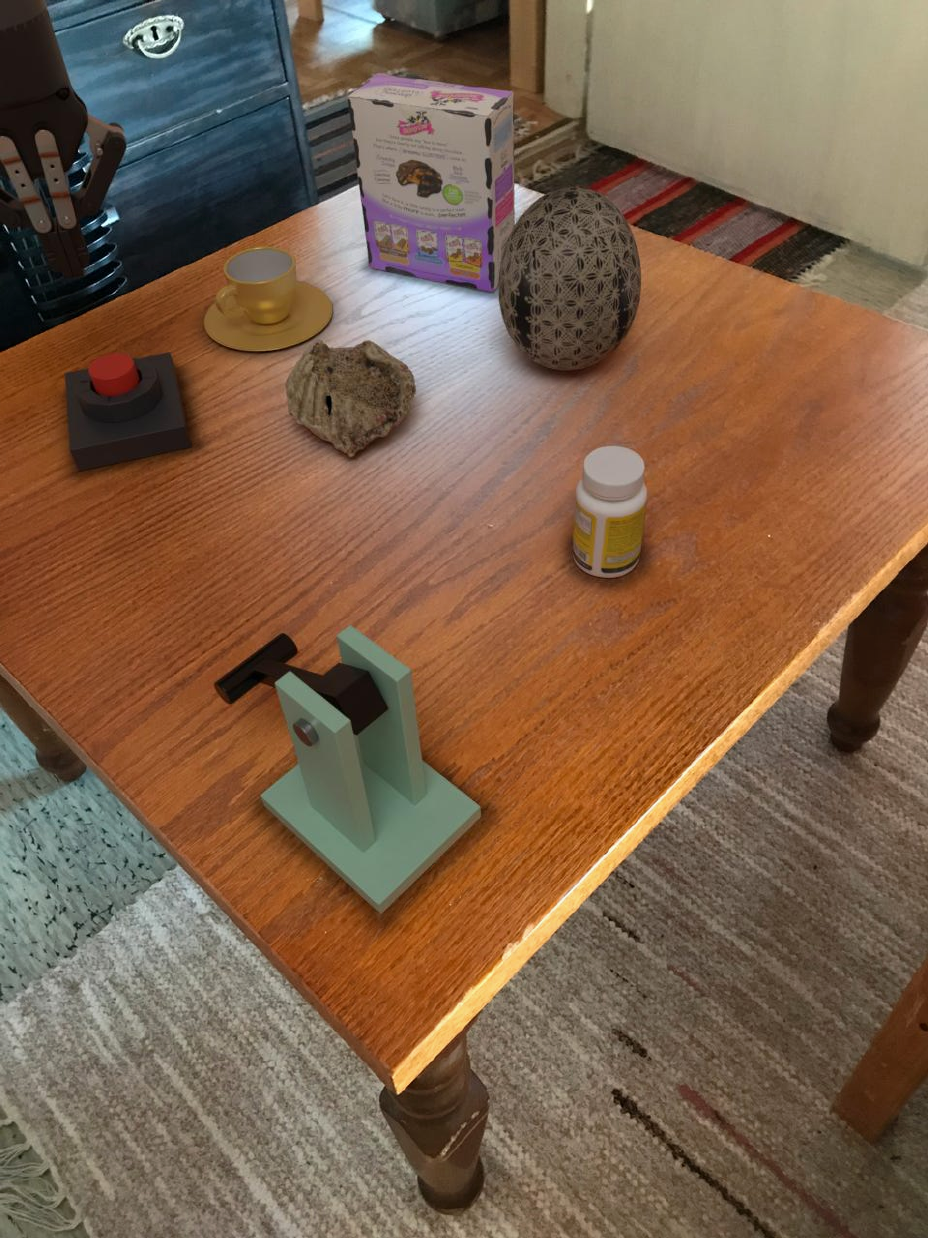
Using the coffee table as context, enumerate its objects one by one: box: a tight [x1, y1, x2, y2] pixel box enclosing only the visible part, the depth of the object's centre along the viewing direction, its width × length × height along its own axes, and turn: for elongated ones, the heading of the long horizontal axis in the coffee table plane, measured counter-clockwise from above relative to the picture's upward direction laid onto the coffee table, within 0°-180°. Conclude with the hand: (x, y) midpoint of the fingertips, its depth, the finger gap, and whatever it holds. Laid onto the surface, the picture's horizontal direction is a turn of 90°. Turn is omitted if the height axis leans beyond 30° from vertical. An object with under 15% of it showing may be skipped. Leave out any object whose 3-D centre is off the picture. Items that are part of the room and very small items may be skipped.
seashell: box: [285, 339, 417, 458], centre depth 79 cm, size 11×7×10 cm
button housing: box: [64, 351, 192, 472], centre depth 81 cm, size 11×9×4 cm
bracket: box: [259, 624, 482, 915], centre depth 52 cm, size 10×8×13 cm
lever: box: [213, 632, 389, 736], centre depth 52 cm, size 12×5×2 cm, turn 47°
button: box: [87, 352, 139, 396], centre depth 79 cm, size 4×4×2 cm
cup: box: [203, 245, 334, 352], centre depth 90 cm, size 12×12×5 cm
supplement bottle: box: [572, 445, 648, 579], centre depth 67 cm, size 5×5×8 cm
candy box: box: [347, 72, 516, 293], centre depth 91 cm, size 14×6×16 cm, turn 65°
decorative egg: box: [497, 186, 642, 371], centre depth 80 cm, size 12×12×15 cm
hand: (74, 272), depth 72 cm, fingers closed
